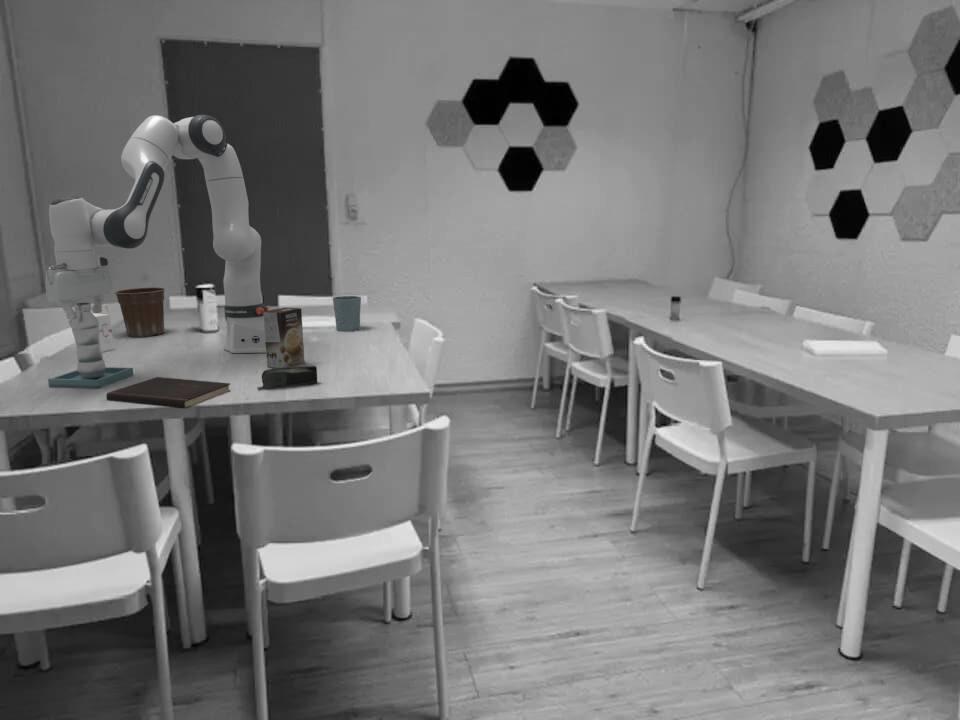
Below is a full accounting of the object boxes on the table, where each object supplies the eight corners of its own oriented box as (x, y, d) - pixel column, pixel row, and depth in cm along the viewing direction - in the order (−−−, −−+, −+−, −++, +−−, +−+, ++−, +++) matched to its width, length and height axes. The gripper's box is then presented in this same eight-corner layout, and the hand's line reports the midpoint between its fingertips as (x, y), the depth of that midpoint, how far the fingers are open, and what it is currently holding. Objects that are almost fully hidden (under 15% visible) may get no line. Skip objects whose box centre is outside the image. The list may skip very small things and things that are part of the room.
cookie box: (283, 369, 191) (279, 312, 187) (266, 367, 193) (261, 311, 190) (305, 362, 199) (301, 308, 195) (288, 360, 201) (284, 306, 198)
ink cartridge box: (83, 350, 219) (76, 305, 216) (97, 347, 224) (91, 303, 220) (101, 352, 216) (95, 306, 212) (115, 349, 220) (109, 304, 217)
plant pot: (117, 340, 236) (111, 293, 232) (123, 332, 250) (117, 288, 247) (168, 336, 241) (163, 291, 238) (171, 329, 256) (166, 286, 253)
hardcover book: (158, 385, 177) (156, 376, 176) (231, 392, 169) (230, 383, 169) (107, 402, 162) (105, 393, 161) (184, 410, 155) (183, 400, 154)
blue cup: (330, 331, 247) (328, 298, 244) (340, 326, 257) (338, 295, 254) (357, 332, 245) (355, 299, 243) (366, 327, 255) (364, 295, 252)
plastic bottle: (95, 381, 176) (84, 305, 172) (72, 380, 178) (61, 305, 173) (113, 375, 182) (102, 301, 178) (91, 374, 184) (80, 301, 179)
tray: (133, 374, 186) (132, 367, 185) (98, 388, 172) (97, 380, 172) (87, 373, 188) (86, 366, 187) (49, 386, 174) (47, 379, 174)
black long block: (315, 364, 176) (255, 368, 170) (318, 366, 173) (256, 371, 167) (316, 382, 177) (256, 388, 171) (318, 385, 174) (258, 391, 168)
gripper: (57, 265, 163) (67, 322, 166) (113, 258, 182) (121, 309, 185) (34, 266, 163) (44, 322, 167) (92, 259, 183) (100, 309, 186)
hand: (85, 315), depth 176 cm, fingers open, 8 cm apart
